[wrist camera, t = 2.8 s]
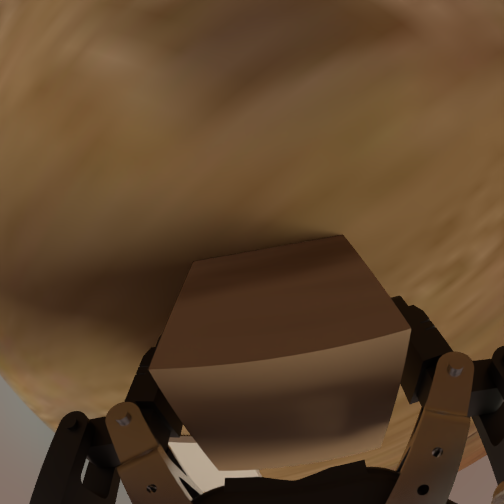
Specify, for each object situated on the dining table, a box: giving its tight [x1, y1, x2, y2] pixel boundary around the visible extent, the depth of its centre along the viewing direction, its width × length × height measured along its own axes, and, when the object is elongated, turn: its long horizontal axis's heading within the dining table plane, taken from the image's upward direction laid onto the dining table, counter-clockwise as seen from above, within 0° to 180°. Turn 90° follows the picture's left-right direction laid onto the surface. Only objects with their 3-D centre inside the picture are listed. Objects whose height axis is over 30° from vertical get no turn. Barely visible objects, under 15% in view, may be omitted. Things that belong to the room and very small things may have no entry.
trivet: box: [168, 436, 262, 492], centre depth 19 cm, size 12×12×1 cm
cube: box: [148, 235, 411, 471], centre depth 10 cm, size 6×6×6 cm
